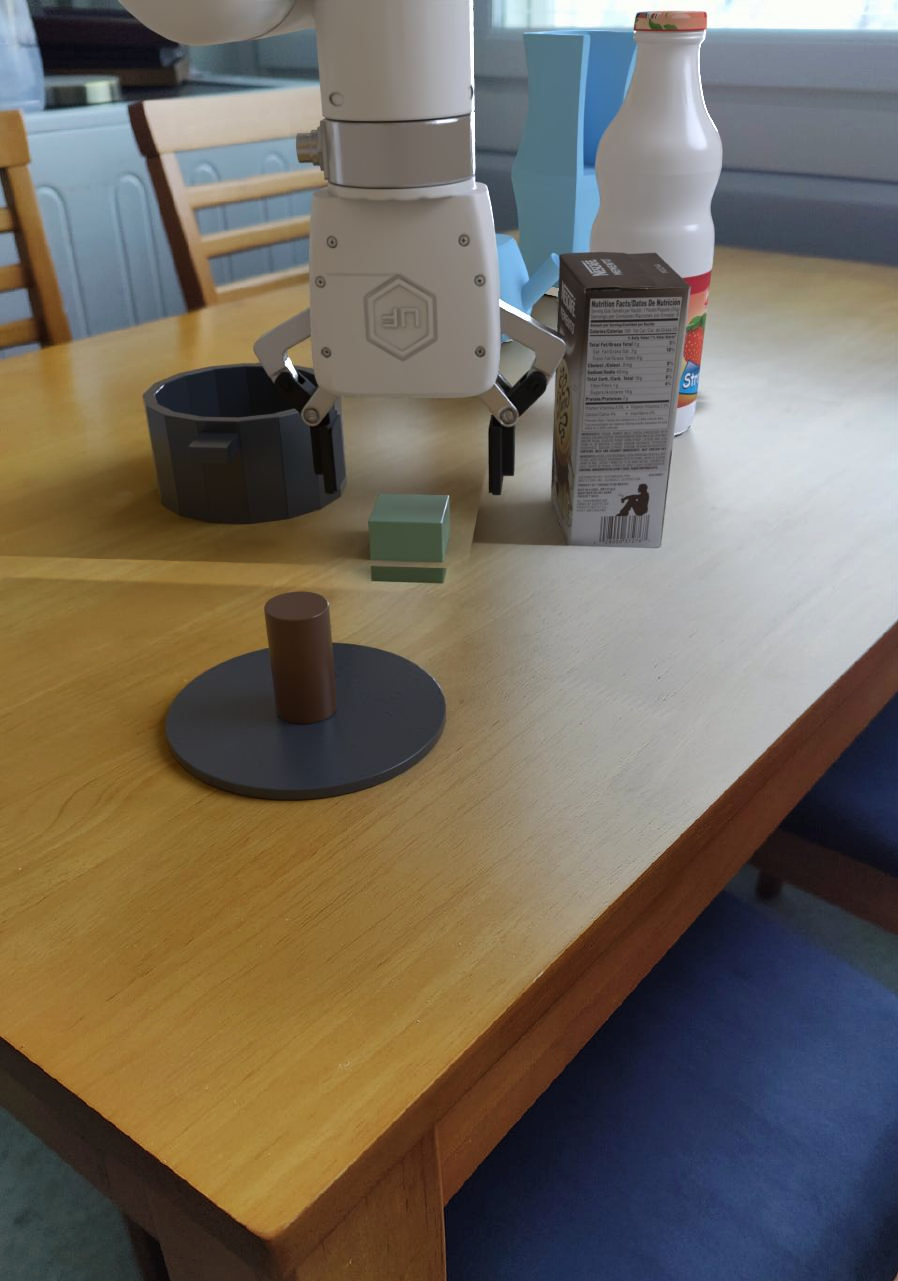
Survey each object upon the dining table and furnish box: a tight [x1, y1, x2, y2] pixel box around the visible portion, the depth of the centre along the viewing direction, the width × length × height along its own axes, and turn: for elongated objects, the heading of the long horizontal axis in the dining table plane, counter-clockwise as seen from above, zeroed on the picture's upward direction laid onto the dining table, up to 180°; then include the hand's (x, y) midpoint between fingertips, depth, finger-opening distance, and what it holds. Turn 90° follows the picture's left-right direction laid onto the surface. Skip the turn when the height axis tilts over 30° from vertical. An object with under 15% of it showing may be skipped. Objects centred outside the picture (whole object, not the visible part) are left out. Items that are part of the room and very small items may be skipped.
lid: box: [165, 590, 447, 801], centre depth 54 cm, size 14×14×7 cm
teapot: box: [495, 232, 560, 342], centre depth 110 cm, size 15×14×11 cm
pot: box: [142, 362, 348, 525], centre depth 76 cm, size 13×18×8 cm
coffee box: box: [550, 252, 691, 549], centre depth 72 cm, size 9×6×16 cm
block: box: [367, 493, 451, 584], centre depth 69 cm, size 4×4×4 cm
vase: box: [510, 29, 637, 288], centre depth 127 cm, size 10×10×25 cm
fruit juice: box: [588, 10, 724, 433], centre depth 85 cm, size 9×9×28 cm
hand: (415, 486), depth 67 cm, fingers open, 9 cm apart
